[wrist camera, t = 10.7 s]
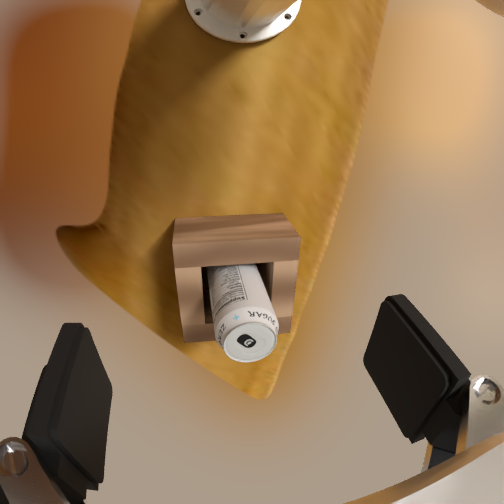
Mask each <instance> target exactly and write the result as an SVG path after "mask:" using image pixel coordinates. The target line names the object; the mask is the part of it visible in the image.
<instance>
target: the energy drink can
mask: <svg viewBox="0 0 504 504" xmlns="http://www.w3.org/2000/svg"><path fill="white" fill-rule="evenodd" d="M207 275H208V284H209V292H210V300H211V308H212V316H213V324H214V332H215V338H216V341H217V343H218V344H219V345H220V346H221V347H222V348H223V349H224V351H225V353H226V354H227V356H228V357H230V358H231V359H233V360H235V361H238V362H254V361H257V360H260V359H262V358H264V357H266V356H267V355H269V354H270V353H271V352H272V351H273V349H274V348H275V346H276V343H277V337H276V336H277V334H278V330H279V323H278V320H277V317H276V315H275V312H274V309H273V307H272V304H271V302H270V299H269V297H268V294H267V291H266V289H265V286H264V284H263V281H262V278H261V276H260V273H259V271H258V268H257V266H256V263H251V264H236V265H221V266H207Z"/></svg>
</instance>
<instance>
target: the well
mask: <svg viewBox="0 0 504 504" xmlns="http://www.w3.org/2000/svg"><path fill="white" fill-rule="evenodd" d="M300 241H301V237H300V235H299V234H298V233H297V231H296V230H295V229H294V227H293V226H292V225H291V223H290V222H289V221H288V219H287V218H286V217H285V216H284V214H283V213H280V214H253V215H230V216H210V217H192V218H175V224H174V233H173V242H172V247H173V257H174V267H175V276H176V284H177V293H178V301H179V308H180V316H181V323H182V330H183V337H184V343H185V342H200V341H213V340H216V338H215V332H214V324H213V316H212V308H211V300H210V292H209V290H203V289H202V274H201V267H206V266H221V265H236V264H251V263H259V273H260V276H261V278H262V281H263V284H264V286H265V289H266V291H267V294H268V297H269V299H270V302H271V304H272V307H273V309H274V312H275V315H276V317H277V320H278V323H279V330H278V334H282V333H290V328H291V320H292V312H293V304H294V296H295V288H296V279H297V270H298V261H299V251H300Z"/></svg>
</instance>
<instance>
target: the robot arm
mask: <svg viewBox="0 0 504 504" xmlns="http://www.w3.org/2000/svg"><path fill="white" fill-rule="evenodd" d="M476 1H477V2H479V3H480V4H481V5H483V6H484V7H486V8H487V9H489V10H491V11H493V12H495V13H497V14H498V15H501V16H503V17H504V0H476ZM185 2H186V7H187V9H188V12H189V14H190V16H191V17H192V19H193V20H194V21H195V23H196V24H197V25H198V26H199V27H201V28H202V29H203V30H204V31H206V32H207V33H209V34H211V35H212V36H214V37H217V38H219V39H222V40H225V41H230V42H235V43H254V42H259V41H263V40H267V39H269V38H272V37H274V36H276V35H278V34H279V33H281V32H282V31H284V30H285V29H286V28H287V27H288V26H290V24H291V23H292V22H293V21H294V20H295V18H296V16H297V14H298V12H299V9H300V5H301V0H185ZM197 12H199V13H200V15H196V13H197ZM284 17H287V18H288V20H286V19H285V18H284ZM240 35H244V38H241V37H240ZM363 361H364V365H365V368H366V369H367V371H368V373H369V375H370V376H371V378H372V380H373V381H374V383H375V385H376V387H377V388H378V390H379V392H380V394H381V395H382V397H383V399H384V401H385V403H386V404H387V406H388V408H389V410H390V412H391V413H392V415H393V417H394V419H395V421H396V422H397V424H398V426H399V428H400V429H401V432H402V433H403V435H404V436H405V437H406V438H409V440H410V441H411V443H412V444H413V443H415V442H417V441H419V440H422V439H424V437H426V439H427V440H428V445H427V450H426V454H425V458H424V463H423V467H422V471H421V473H420V474H418V475H416V476H414V477H412V478H410V479H408V480H405V481H403V482H401V483H398V484H396V485H394V486H391V487H389V488H386V489H384V490H381V491H379V492H376V493H373V494H371V495H368V496H365V497H362V498H360V499H357V500H354V501H351V502H348V503H344V504H504V391H503V388H502V386H501V385H500V384H499V383H498V381H497V380H495V379H494V378H492V377H490V376H487V375H479V376H476V377H475V378H473V380H472V381H471V382H470V380H469V377H470V375H471V373H470V372H469V371H468V369H467V368H466V367H465V366H464V364H463V363H462V362H461V361H460V359H459V358H458V357H457V356H456V354H455V353H454V352H453V351H452V350H451V348H450V347H449V346H448V345H447V344H446V342H445V341H444V340H443V339H442V338H441V336H440V335H439V334H438V333H437V332H436V331H435V329H434V328H433V327H432V326H431V325H430V324H429V322H428V321H427V320H426V319H425V318H424V317H423V316H422V314H421V313H420V312H419V311H418V310H417V309H416V308H415V307H414V305H413V304H412V303H411V302H410V301H409V300H408V299H407V298H406V296H404V295H403V294H399V295H393V296H388V297H386V299H385V301H384V302H382V303H381V306H380V309H379V312H378V316H377V319H376V322H375V325H374V328H373V331H372V334H371V337H370V340H369V343H368V346H367V349H366V352H365V354H364V358H363ZM111 399H112V386H111V382H110V380H109V378H108V376H107V373H106V371H105V369H104V366H103V364H102V361H101V359H100V356H99V354H98V351H97V349H96V346H95V344H94V341H93V339H92V336H91V333H90V331H89V329H88V328H84V326H83V324H82V323H64V324H63V325H62V328H61V330H60V333H59V335H58V338H57V340H56V342H55V345H54V348H53V350H52V353H51V356H50V358H49V361H48V364H47V365H46V366H45V367H44V368H43V370H42V373H41V376H40V379H39V382H38V385H37V387H36V390H35V394H34V397H33V400H32V403H31V407H30V410H29V413H28V417H27V420H26V424H25V428H24V431H23V435H22V439H21V438H18V437H9V438H6V439H4V440H2V441H1V442H0V504H88V502H87V501H86V490H87V489H89V490H97V491H98V484H99V483H102V482H103V479H104V465H105V452H106V442H107V431H108V423H109V415H110V407H111Z"/></svg>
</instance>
